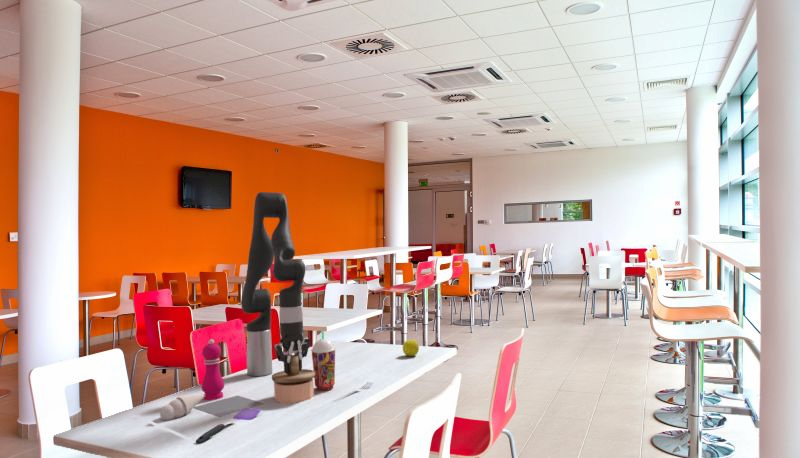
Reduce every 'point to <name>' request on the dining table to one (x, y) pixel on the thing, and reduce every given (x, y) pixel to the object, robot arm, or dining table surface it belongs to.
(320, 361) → the smoothie
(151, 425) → the dining table surface
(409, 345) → the tennis ball
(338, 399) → the fork
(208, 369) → the pepper mill
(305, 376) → the lid
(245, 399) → the mat
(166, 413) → the ice cream cone
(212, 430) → the spatula
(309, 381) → the bowl
